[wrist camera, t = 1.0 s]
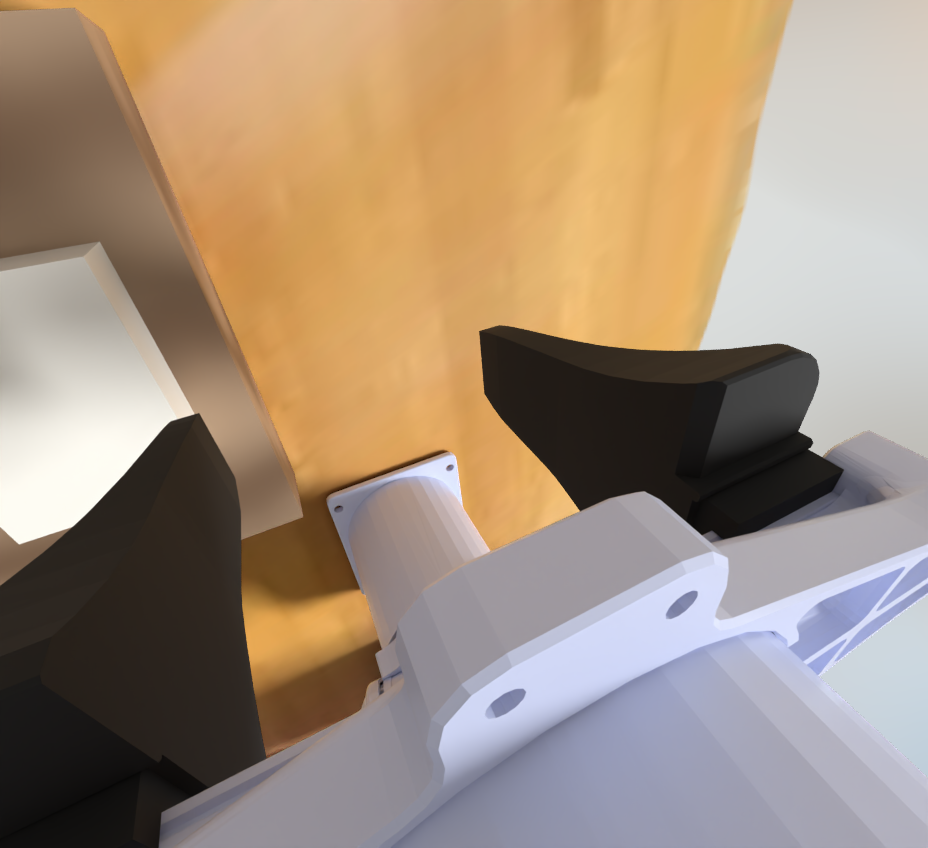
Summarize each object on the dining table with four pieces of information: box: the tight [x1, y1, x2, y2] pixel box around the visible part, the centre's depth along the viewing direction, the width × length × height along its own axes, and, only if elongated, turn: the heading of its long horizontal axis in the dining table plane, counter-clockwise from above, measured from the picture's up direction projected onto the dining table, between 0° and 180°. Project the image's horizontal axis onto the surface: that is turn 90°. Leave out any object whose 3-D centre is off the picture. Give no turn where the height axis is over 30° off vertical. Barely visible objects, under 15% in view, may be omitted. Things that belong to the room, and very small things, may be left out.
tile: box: [0, 241, 194, 544], centre depth 14 cm, size 8×6×2 cm
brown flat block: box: [0, 8, 303, 585], centre depth 16 cm, size 18×12×4 cm, turn 6°
